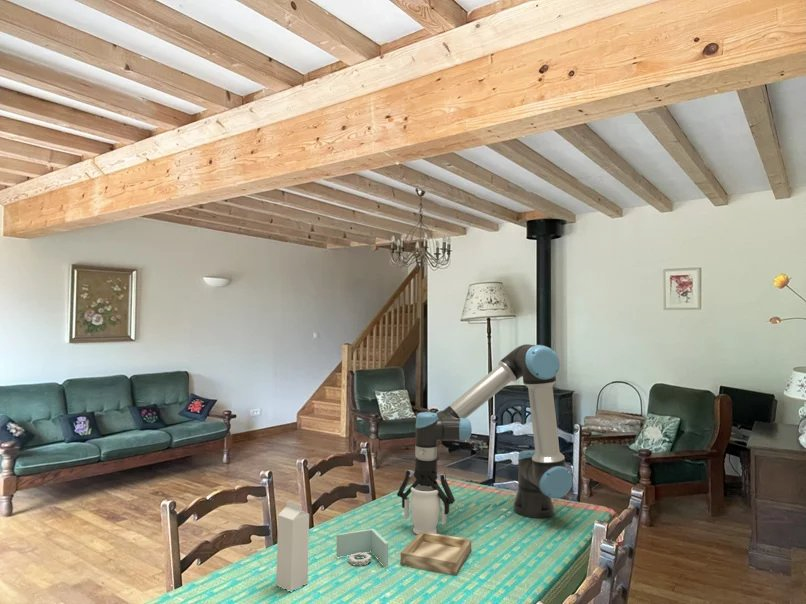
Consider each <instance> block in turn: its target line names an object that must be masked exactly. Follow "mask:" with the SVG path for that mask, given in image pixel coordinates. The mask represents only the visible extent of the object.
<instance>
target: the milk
mask: <svg viewBox="0 0 806 604" xmlns="http://www.w3.org/2000/svg"><path fill="white" fill-rule="evenodd" d="M302 507H303V506H302V504H301V503H298V502H297V503H296V502H294V501H290V500H287V501H286V506H285V507H284V508H283V509H282V510H281V511H280V513H278V516H277V540H276V542H277V546H276V579H275V580H276V581H275V585H276V584H277V585H279V586H281V587H283V588H285V589H287V590H290V591H292V590H294V589H296V588H299V587H301V586H302V585H304V584H306V583H308V582H309V581H308V580H309V575H308V574H309V573H308V572H309V543H310V541H309V539H310V538H309V537H310V535H309V534H310V513H308V512H306V511H303V509H302ZM301 588H302V587H301ZM299 589H300V588H299Z"/></svg>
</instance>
